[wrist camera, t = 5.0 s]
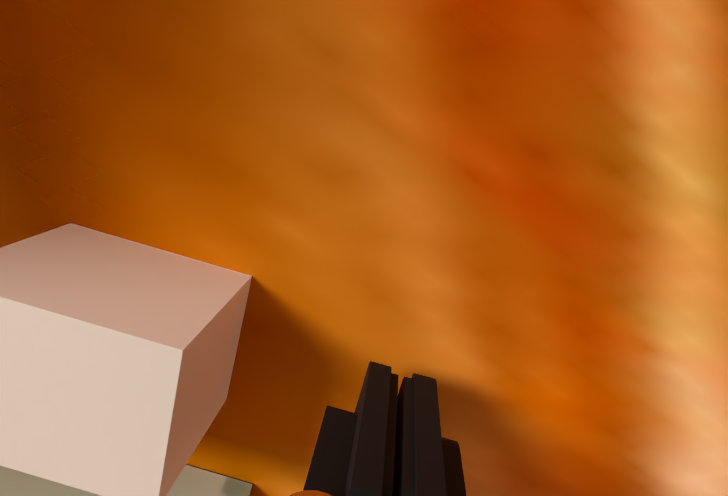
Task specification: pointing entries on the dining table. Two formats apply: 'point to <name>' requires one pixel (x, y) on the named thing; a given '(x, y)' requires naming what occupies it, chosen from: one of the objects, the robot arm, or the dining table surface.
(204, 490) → the tray
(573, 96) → the dining table surface
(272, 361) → the dining table surface
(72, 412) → the white block
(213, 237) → the dining table surface
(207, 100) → the dining table surface
